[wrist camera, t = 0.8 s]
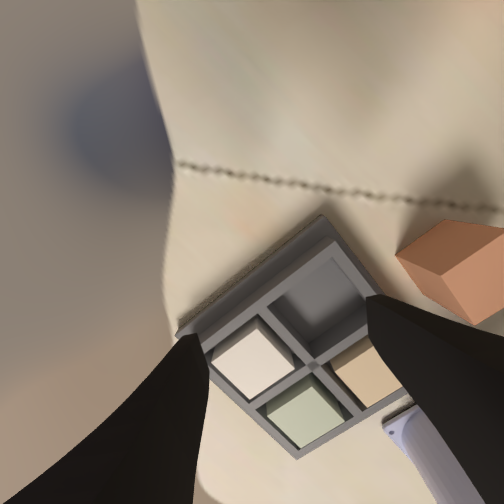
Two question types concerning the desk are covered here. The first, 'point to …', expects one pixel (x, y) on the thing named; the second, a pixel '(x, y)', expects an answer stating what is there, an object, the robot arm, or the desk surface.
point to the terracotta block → (459, 268)
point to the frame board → (298, 342)
